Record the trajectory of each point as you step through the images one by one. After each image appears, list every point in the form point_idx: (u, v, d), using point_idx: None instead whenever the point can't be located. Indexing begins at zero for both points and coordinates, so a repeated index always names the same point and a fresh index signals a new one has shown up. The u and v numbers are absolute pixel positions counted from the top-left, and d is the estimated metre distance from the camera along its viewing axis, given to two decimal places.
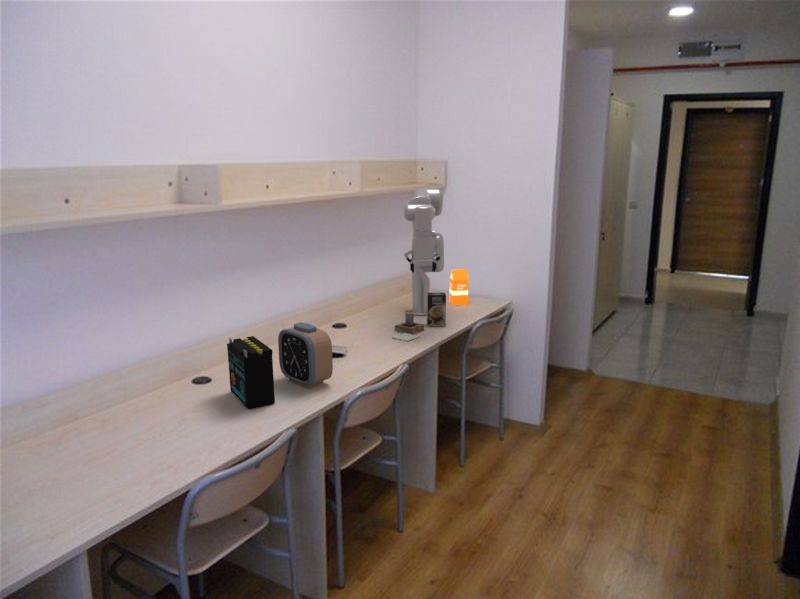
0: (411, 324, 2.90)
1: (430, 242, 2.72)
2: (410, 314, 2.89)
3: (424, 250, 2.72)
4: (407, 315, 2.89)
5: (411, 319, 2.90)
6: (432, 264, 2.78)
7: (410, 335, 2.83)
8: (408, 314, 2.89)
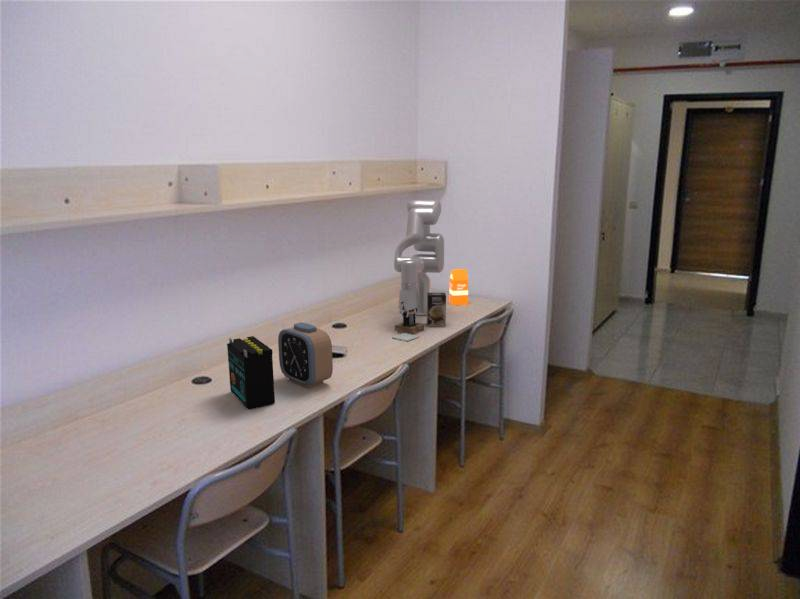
0: (411, 324, 2.90)
1: (417, 293, 2.90)
2: (410, 314, 2.89)
3: (413, 301, 2.88)
4: None
5: (411, 319, 2.90)
6: None
7: (410, 335, 2.83)
8: None
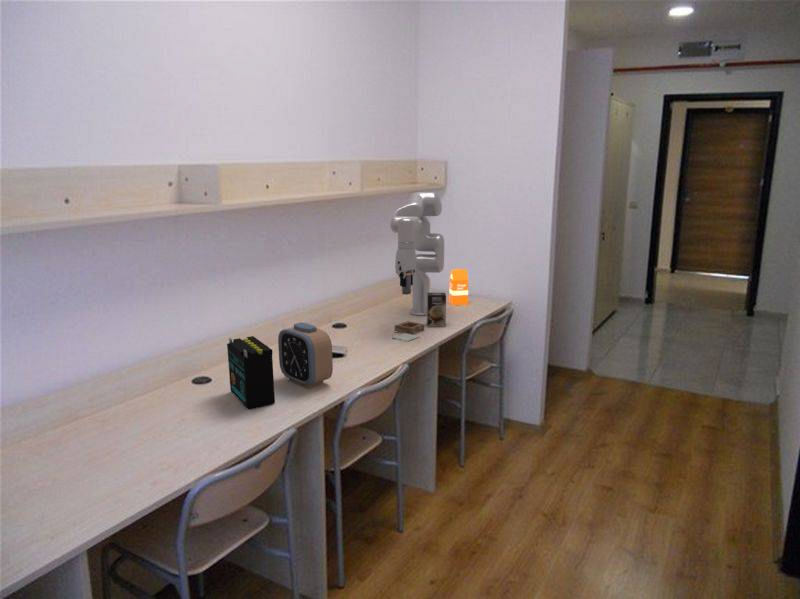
0: (408, 286, 2.78)
1: (414, 253, 2.77)
2: (407, 275, 2.76)
3: (410, 261, 2.75)
4: None
5: (408, 280, 2.77)
6: None
7: (410, 335, 2.83)
8: (405, 275, 2.76)
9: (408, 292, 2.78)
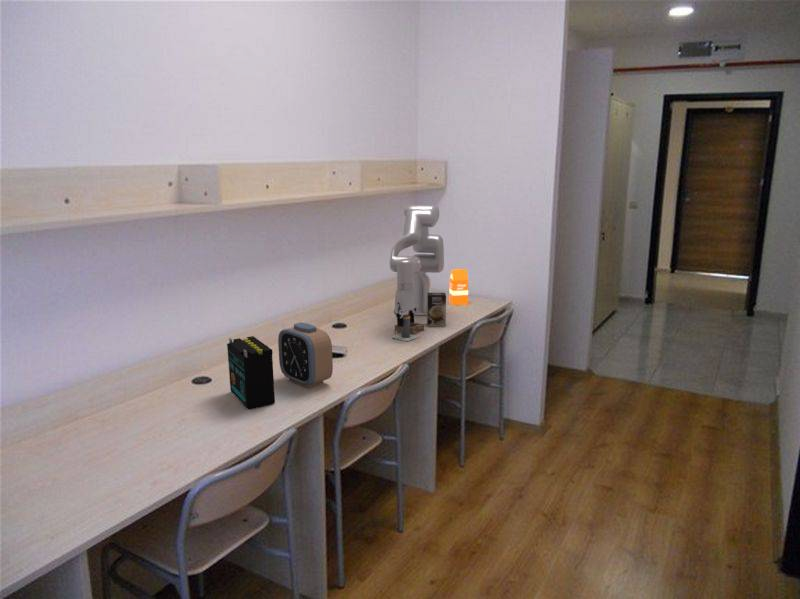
0: (407, 329, 2.79)
1: (413, 293, 2.78)
2: (406, 319, 2.78)
3: (410, 302, 2.76)
4: (403, 320, 2.78)
5: (407, 324, 2.79)
6: None
7: (410, 335, 2.83)
8: (404, 319, 2.78)
9: (407, 335, 2.80)
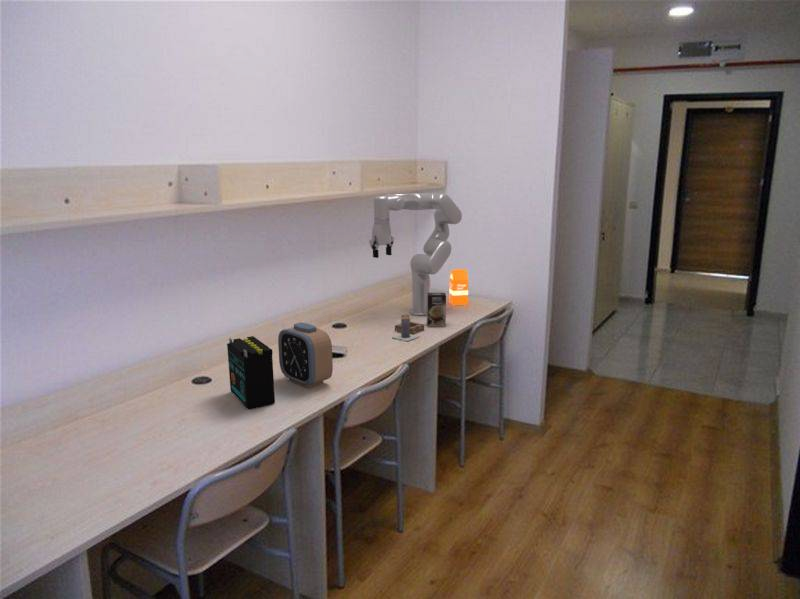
0: (407, 329, 2.79)
1: (389, 229, 3.02)
2: (406, 319, 2.78)
3: (385, 236, 3.00)
4: (403, 320, 2.78)
5: (407, 324, 2.79)
6: (386, 249, 3.07)
7: (410, 335, 2.83)
8: (404, 319, 2.78)
9: (407, 335, 2.80)
